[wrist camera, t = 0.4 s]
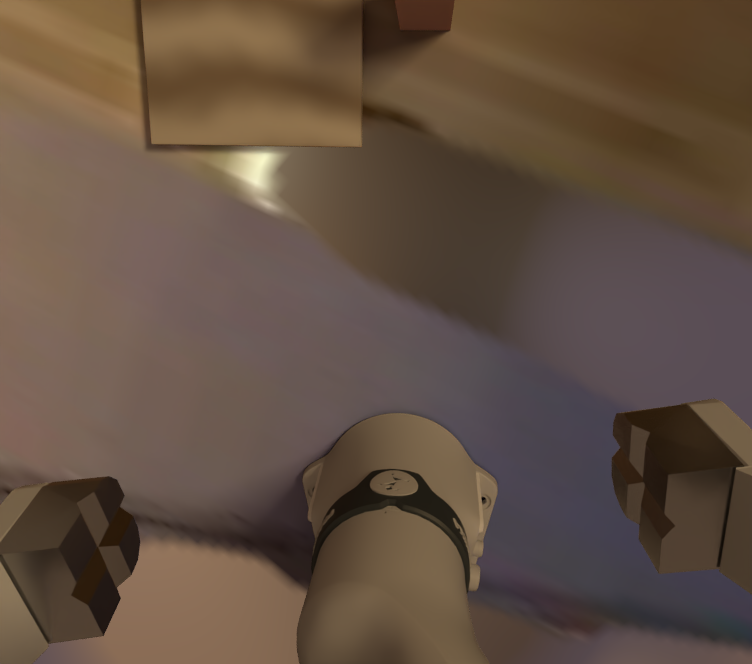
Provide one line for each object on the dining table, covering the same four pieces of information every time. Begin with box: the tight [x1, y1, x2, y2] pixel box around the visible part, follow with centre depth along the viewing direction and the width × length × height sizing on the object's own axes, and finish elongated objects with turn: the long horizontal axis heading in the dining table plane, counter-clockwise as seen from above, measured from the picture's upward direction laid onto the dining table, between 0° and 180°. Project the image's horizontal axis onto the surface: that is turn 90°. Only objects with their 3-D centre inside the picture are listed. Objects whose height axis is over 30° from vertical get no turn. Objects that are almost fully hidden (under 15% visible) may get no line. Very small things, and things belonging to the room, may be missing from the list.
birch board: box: [141, 0, 363, 147], centre depth 46 cm, size 22×18×1 cm
